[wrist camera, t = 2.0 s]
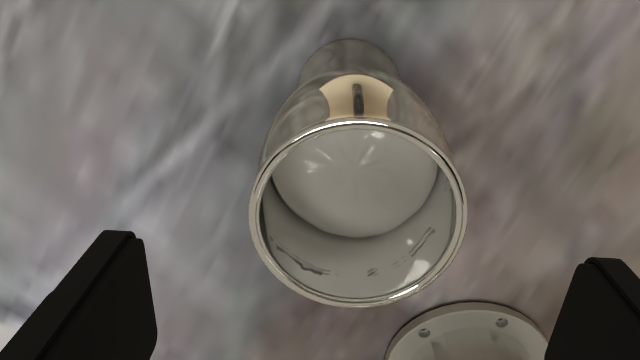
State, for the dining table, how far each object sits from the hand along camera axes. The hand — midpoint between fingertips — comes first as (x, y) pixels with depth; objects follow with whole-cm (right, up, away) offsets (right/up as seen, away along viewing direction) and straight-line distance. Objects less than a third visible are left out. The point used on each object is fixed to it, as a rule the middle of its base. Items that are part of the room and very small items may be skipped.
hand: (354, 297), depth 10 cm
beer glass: (+1, +8, +17) cm, 19 cm away
